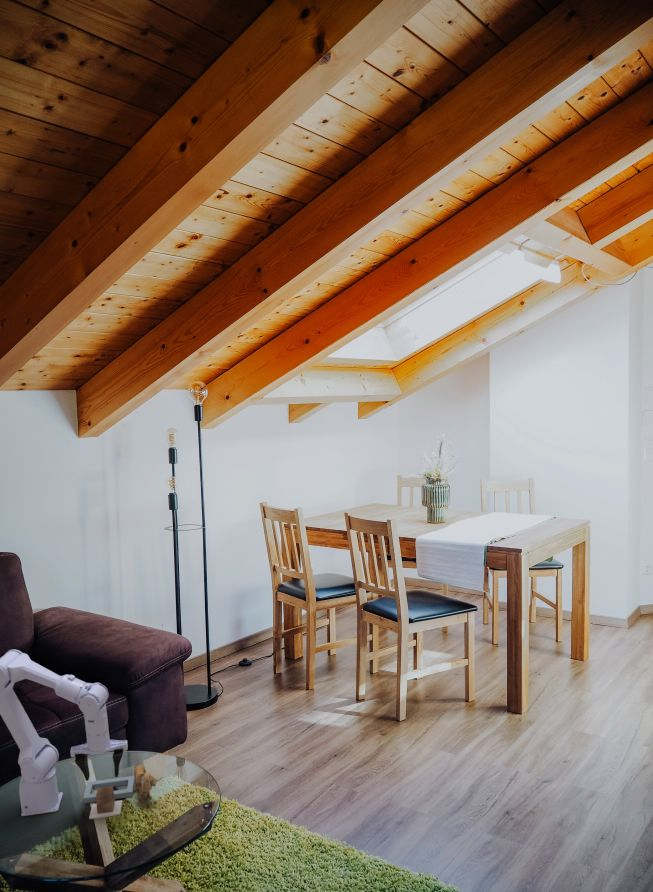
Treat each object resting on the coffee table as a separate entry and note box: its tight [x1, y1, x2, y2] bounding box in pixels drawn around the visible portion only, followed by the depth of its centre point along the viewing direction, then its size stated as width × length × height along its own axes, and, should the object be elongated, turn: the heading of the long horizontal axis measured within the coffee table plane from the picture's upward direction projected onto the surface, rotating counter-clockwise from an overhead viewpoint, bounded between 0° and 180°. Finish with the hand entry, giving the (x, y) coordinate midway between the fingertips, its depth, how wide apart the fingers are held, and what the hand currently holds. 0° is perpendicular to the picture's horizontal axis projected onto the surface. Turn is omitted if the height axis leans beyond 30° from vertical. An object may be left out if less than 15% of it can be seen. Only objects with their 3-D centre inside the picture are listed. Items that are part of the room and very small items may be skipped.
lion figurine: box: [133, 764, 158, 804], centre depth 211 cm, size 15×5×9 cm, turn 31°
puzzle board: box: [82, 775, 135, 804], centre depth 213 cm, size 13×8×2 cm, turn 98°
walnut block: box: [95, 786, 116, 814], centre depth 205 cm, size 4×4×5 cm
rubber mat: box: [89, 799, 123, 820], centre depth 206 cm, size 8×6×1 cm
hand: (102, 776), depth 205 cm, fingers open, 7 cm apart
